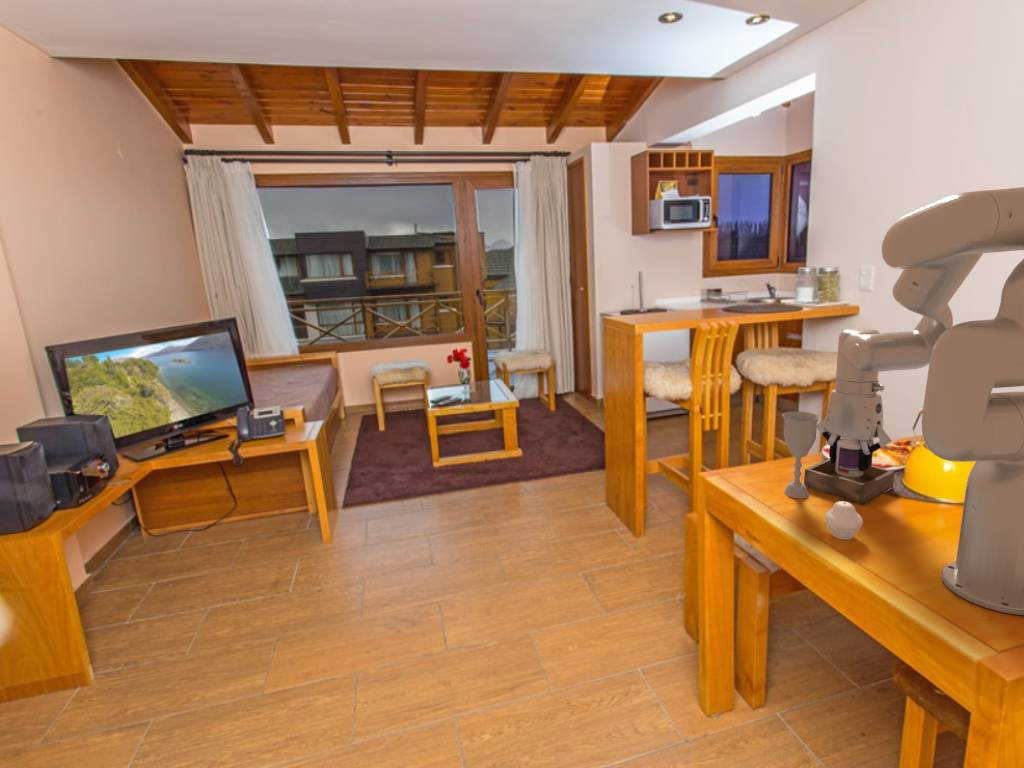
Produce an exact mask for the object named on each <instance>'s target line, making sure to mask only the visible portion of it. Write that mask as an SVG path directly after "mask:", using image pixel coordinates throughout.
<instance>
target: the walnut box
mask: <svg viewBox="0 0 1024 768" xmlns="http://www.w3.org/2000/svg"><path fill="white" fill-rule="evenodd" d="M895 473H896V472H895V471H894V470H891V469H888V468H883V467H881V466H876V465H871V467H870V468H869V469H867V470H865V471H864V472H863V475H862V476H859V477H847V476H843V475H840V474H838V473H837V472H836V471H835V463H830V457H829V458H826V459H825V460H822V461H820V462H818V463H816V464H814V465H811V466H809V467H807V468H805V469H804V477H803V478H804V479H803V484H804V485H805V486H806V488H809V489H813V490H815V491H818V492H821V493H824V494H827V495H830V496H833V497H836V498H839V499H842V500H846V501H847V502H848V501H849V502H853V503H854V504H858V505H861V506H865V505H866V504H869V503H870V502H872V501H874V500H876V499H877V498H878V497H881V496H882V494H883V495H885V493H884V492H885V491H887V490H888V489H890V488H892V487H893V488H894V481H895Z"/></svg>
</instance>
